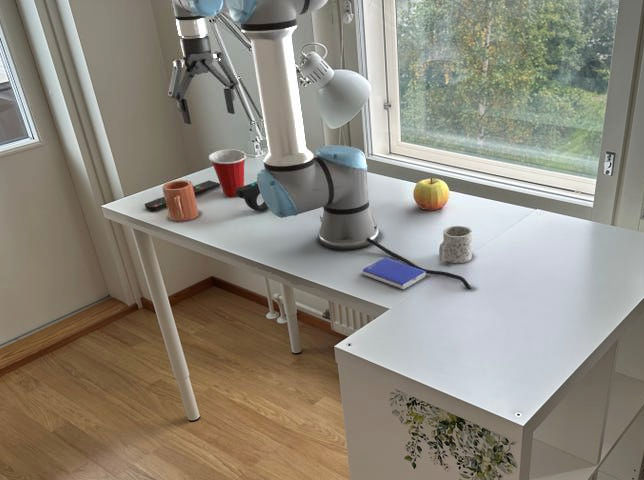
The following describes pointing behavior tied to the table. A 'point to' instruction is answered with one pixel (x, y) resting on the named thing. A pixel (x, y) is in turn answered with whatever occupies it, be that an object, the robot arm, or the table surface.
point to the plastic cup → (229, 169)
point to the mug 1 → (180, 200)
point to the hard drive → (394, 273)
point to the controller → (251, 196)
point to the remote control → (197, 190)
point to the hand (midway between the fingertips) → (209, 118)
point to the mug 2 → (456, 245)
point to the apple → (431, 194)
